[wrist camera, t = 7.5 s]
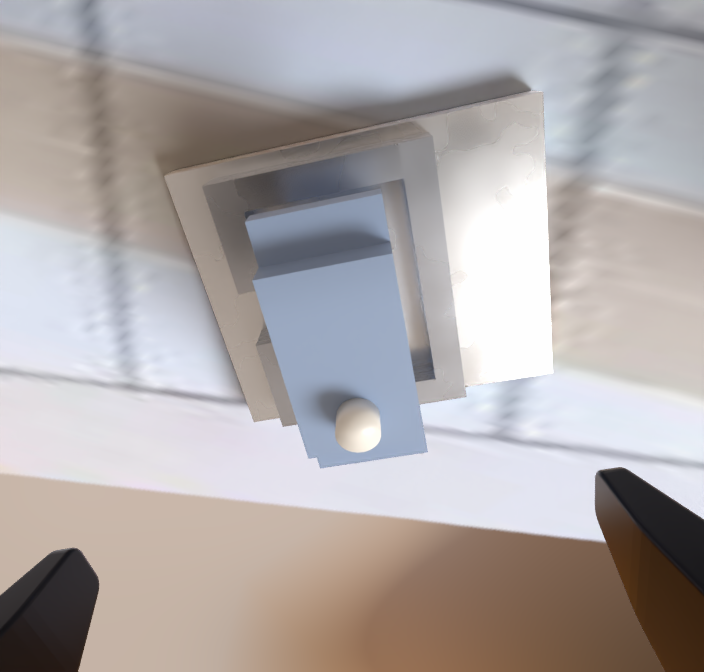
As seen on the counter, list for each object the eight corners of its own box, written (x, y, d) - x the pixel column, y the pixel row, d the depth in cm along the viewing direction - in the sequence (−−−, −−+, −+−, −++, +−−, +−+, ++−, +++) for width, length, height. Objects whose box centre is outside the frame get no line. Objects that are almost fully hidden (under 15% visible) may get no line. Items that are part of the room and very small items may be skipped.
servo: (272, 183, 17) (229, 242, 11) (376, 161, 16) (385, 211, 11) (328, 387, 20) (316, 509, 15) (413, 373, 20) (434, 492, 14)
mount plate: (532, 89, 16) (556, 93, 14) (544, 359, 21) (563, 390, 19) (173, 170, 17) (150, 183, 15) (258, 407, 22) (248, 441, 20)
